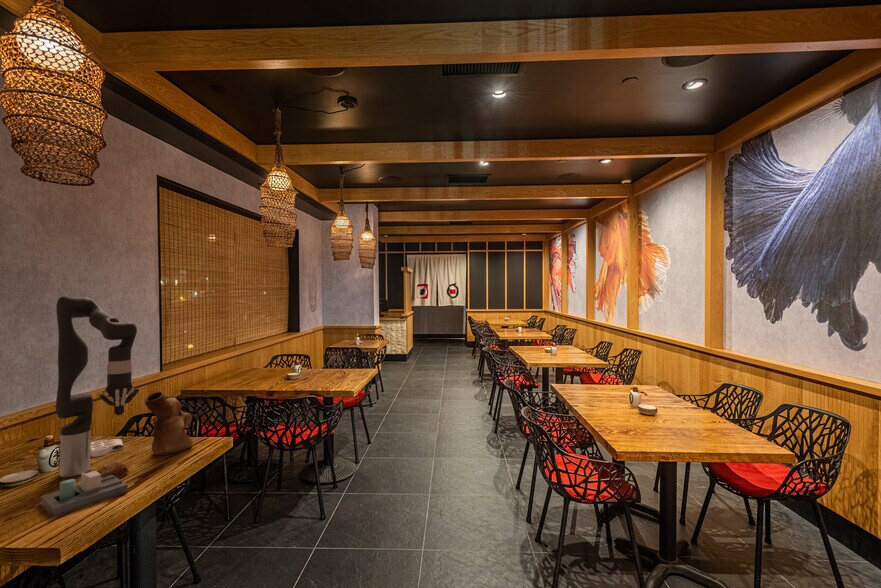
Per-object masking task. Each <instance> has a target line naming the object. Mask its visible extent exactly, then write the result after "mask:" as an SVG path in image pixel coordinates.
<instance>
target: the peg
mask: <svg viewBox="0 0 881 588" xmlns="http://www.w3.org/2000/svg"><path fill="white" fill-rule="evenodd" d="M75 486H76V479H75V478H72V479H67V480H63V481H61V482H60V483H59V491H60V494H59V501H62V500H65V499H68V498H71V497H74V496H75Z"/></svg>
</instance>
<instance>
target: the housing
mask: <svg viewBox="0 0 881 588" xmlns="http://www.w3.org/2000/svg"><path fill="white" fill-rule="evenodd" d="M128 484H129V483H126V482H125V481H123V480H122V479H121V478H119V479H118V478H116V477H115V476H113V475H110V476H106V477H103V478H101V487H98V488H94V489H91V490H88V491H84V490H82V489H81V483H80V484H75V496H74V497H71V498H68V499H65V500H62V501H59V494H60V490H57V491H54V492H53V491H52V492H49V493H47V494H43V495H41V496H40V506H41V507H42V508H43V509H44V511H46V512H47V513H48V514H49V515H50V516H51V517H52V518H53V519H54V518H57V517H59V516H62V515H65V514H69V513H71V512H74V511H77V510H80V509H84V508H86V507H89V506H92V505H95V504H98V503H101V502H104V501H106V500H110V499H112V498H116V497H118V496H121V495H125V494H127V493H128V492H129V491H128V490H129V489H128V486H129V485H128Z"/></svg>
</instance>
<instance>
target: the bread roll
mask: <svg viewBox="0 0 881 588" xmlns="http://www.w3.org/2000/svg"><path fill="white" fill-rule="evenodd" d="M128 469H129V466H128V465H127V464H125V463H123V462H120V461H108V462H106V463H105V464H103V465H102V466H100V467H99V468H98V469H97V472H98V473H100V474H101V478H103V477H106V476H110V475H113V476H115V477H116V478H118V479H121V478H123V477H125V476H126V475H127V474H128V473H129V470H128Z"/></svg>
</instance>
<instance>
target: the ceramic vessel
mask: <svg viewBox="0 0 881 588" xmlns="http://www.w3.org/2000/svg"><path fill="white" fill-rule="evenodd" d="M143 401H144V403H145V405H146V408H147V409H148V410H149V411H150V412H151V413H152V414H153V415H154V416H155V417H156V418H155V420H154V422H153V439H152V440H153V441H152V443H151V451H152V453H154V455H156V456H166V455H167V456H168V455H171V454H177V453H180V452H182V451H185V450H187V449H189V448H192V447H193V445H194V443H193V440H192V438H191V437H190V436H189V435H188V434H187V433H186V432H185V430H184V429H185V428H186V427H188V426H189V425H190V424H191V423H192V420H193V416H192V414H191V413H188V412H184V411H183V410H182V403H181V402H180V401H179V400H178V399H177V397H176V396H175V394H171V397H166V395H165V393H164V392H162V391H158V392H157V391H156V392H152V393H150V394H148V395H147V396H145V397H144V399H143Z"/></svg>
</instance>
